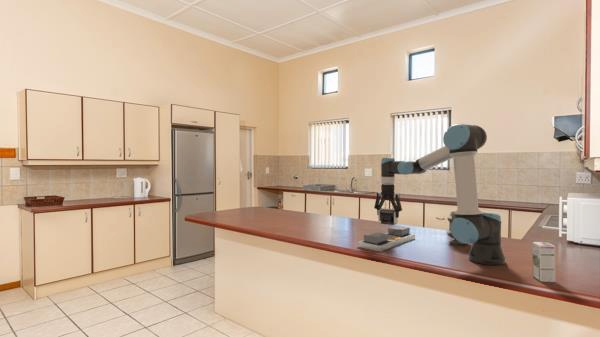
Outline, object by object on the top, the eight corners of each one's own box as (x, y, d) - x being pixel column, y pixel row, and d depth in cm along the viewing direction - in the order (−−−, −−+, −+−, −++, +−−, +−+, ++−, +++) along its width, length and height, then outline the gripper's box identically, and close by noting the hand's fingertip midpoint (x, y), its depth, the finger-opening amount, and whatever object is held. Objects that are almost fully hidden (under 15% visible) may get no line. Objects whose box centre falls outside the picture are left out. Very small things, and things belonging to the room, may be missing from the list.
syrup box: (556, 282, 128) (556, 245, 128) (539, 281, 129) (539, 244, 129) (547, 277, 134) (548, 242, 134) (531, 276, 135) (532, 241, 135)
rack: (415, 238, 202) (415, 227, 202) (380, 251, 174) (380, 238, 174) (394, 235, 212) (394, 224, 212) (358, 246, 184) (358, 234, 184)
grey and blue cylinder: (469, 241, 194) (469, 211, 194) (470, 246, 183) (470, 214, 183) (447, 240, 199) (447, 210, 199) (446, 244, 188) (446, 213, 188)
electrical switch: (397, 224, 193) (396, 208, 192) (394, 226, 188) (394, 210, 187) (381, 222, 198) (381, 207, 197) (378, 224, 194) (378, 209, 193)
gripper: (408, 184, 187) (408, 223, 188) (374, 182, 203) (374, 218, 204) (402, 185, 182) (402, 225, 183) (368, 183, 198) (368, 220, 198)
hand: (387, 222), depth 193 cm, fingers closed on electrical switch, 9 cm apart
